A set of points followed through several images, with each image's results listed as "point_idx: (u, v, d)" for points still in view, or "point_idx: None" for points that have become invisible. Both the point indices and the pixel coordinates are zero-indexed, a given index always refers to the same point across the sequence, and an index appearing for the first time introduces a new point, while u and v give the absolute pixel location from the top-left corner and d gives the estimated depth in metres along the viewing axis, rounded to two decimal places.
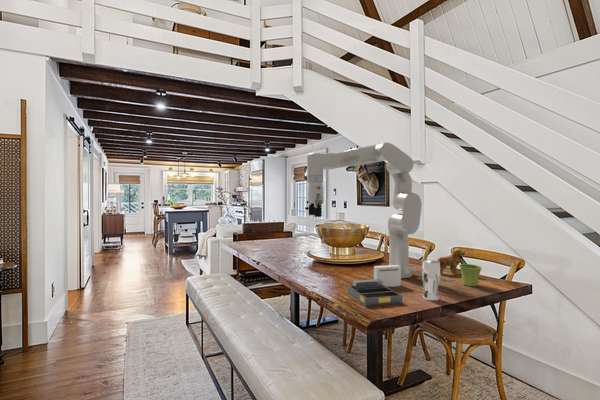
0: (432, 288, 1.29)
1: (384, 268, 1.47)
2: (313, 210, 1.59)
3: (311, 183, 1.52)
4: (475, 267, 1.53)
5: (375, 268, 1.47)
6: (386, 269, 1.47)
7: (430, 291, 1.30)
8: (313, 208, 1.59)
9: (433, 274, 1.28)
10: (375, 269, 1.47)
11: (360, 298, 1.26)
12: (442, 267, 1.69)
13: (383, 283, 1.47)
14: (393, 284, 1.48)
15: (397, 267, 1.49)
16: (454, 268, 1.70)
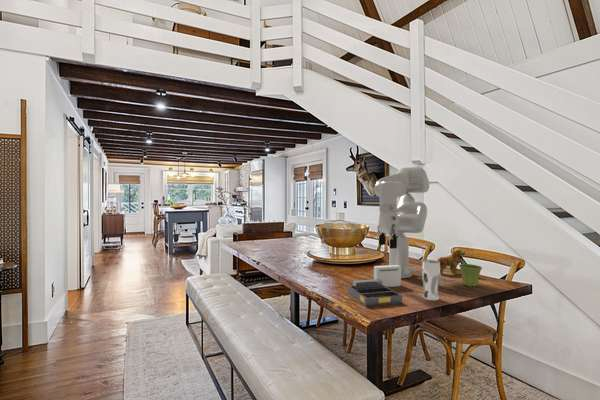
0: (432, 288, 1.29)
1: (384, 268, 1.47)
2: (383, 240, 1.53)
3: (385, 213, 1.46)
4: (475, 267, 1.53)
5: (375, 268, 1.47)
6: (386, 269, 1.47)
7: (430, 291, 1.30)
8: (383, 237, 1.53)
9: (433, 274, 1.28)
10: (375, 269, 1.47)
11: (360, 298, 1.26)
12: (442, 267, 1.69)
13: (383, 283, 1.47)
14: (393, 284, 1.48)
15: (397, 267, 1.49)
16: (454, 268, 1.70)
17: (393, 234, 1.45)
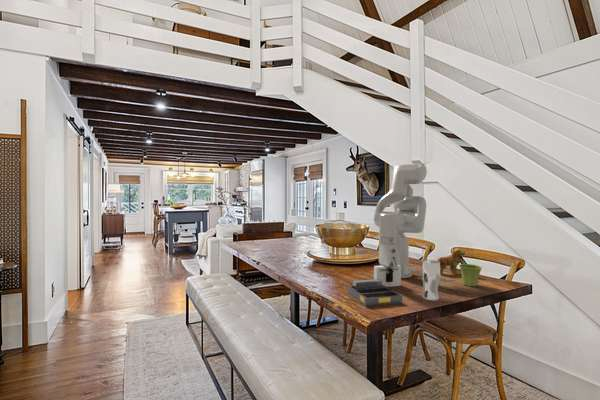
0: (432, 288, 1.29)
1: (384, 268, 1.47)
2: None
3: (385, 245, 1.46)
4: (475, 267, 1.53)
5: (375, 268, 1.47)
6: (386, 269, 1.47)
7: (430, 291, 1.30)
8: None
9: (433, 274, 1.28)
10: (375, 268, 1.47)
11: (360, 298, 1.26)
12: (442, 267, 1.69)
13: (383, 283, 1.47)
14: (393, 284, 1.48)
15: (397, 267, 1.49)
16: (454, 268, 1.70)
17: None
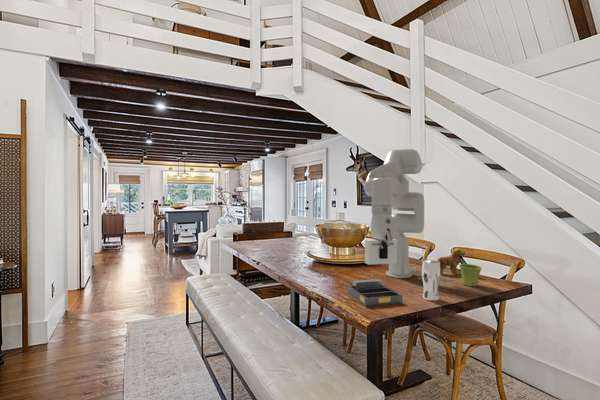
0: (432, 288, 1.29)
1: (377, 242, 1.24)
2: None
3: (378, 215, 1.24)
4: (475, 267, 1.53)
5: (366, 242, 1.25)
6: (379, 243, 1.25)
7: (430, 291, 1.30)
8: None
9: (433, 274, 1.28)
10: (367, 242, 1.25)
11: (360, 298, 1.26)
12: (442, 267, 1.69)
13: (376, 259, 1.24)
14: (388, 261, 1.26)
15: (393, 241, 1.26)
16: (454, 268, 1.70)
17: None
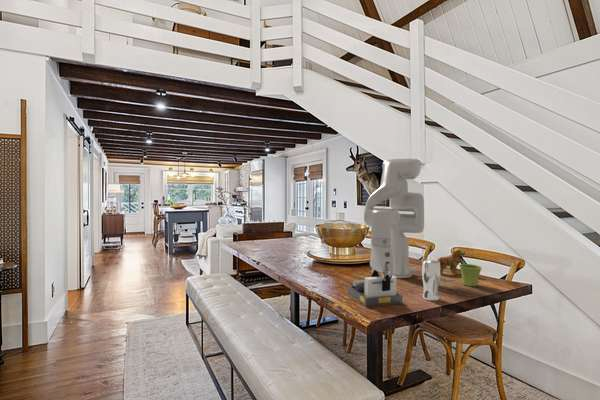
0: (432, 288, 1.29)
1: (377, 280, 1.25)
2: None
3: (377, 248, 1.24)
4: (475, 267, 1.53)
5: (366, 280, 1.25)
6: (379, 281, 1.25)
7: (430, 291, 1.30)
8: (377, 276, 1.30)
9: (433, 274, 1.28)
10: (366, 281, 1.25)
11: (360, 298, 1.26)
12: (442, 267, 1.69)
13: None
14: None
15: (392, 279, 1.26)
16: (454, 268, 1.70)
17: (386, 273, 1.23)
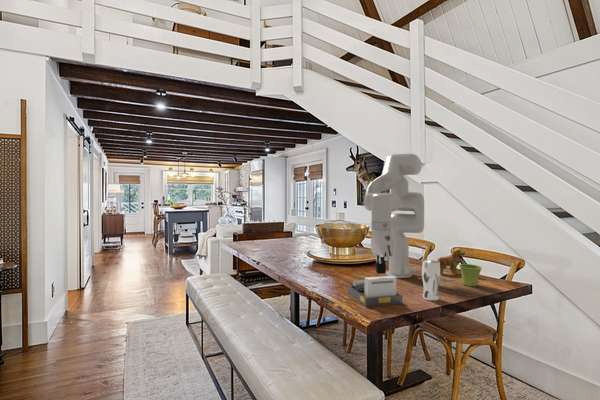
0: (432, 288, 1.29)
1: (377, 280, 1.25)
2: None
3: (378, 231, 1.24)
4: (475, 267, 1.53)
5: (366, 280, 1.25)
6: (379, 281, 1.25)
7: (430, 291, 1.30)
8: None
9: (433, 274, 1.28)
10: (366, 281, 1.25)
11: (360, 298, 1.26)
12: (442, 267, 1.69)
13: None
14: None
15: (392, 279, 1.26)
16: (454, 268, 1.70)
17: (383, 256, 1.26)
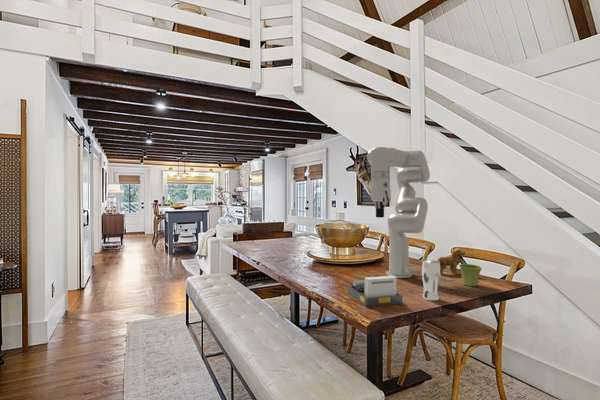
0: (432, 288, 1.29)
1: (377, 280, 1.25)
2: None
3: (377, 180, 1.42)
4: (475, 267, 1.53)
5: (366, 280, 1.25)
6: (379, 281, 1.25)
7: (430, 291, 1.30)
8: None
9: (433, 274, 1.28)
10: (366, 281, 1.25)
11: (360, 298, 1.26)
12: (442, 267, 1.69)
13: None
14: None
15: (392, 279, 1.26)
16: (454, 268, 1.70)
17: None
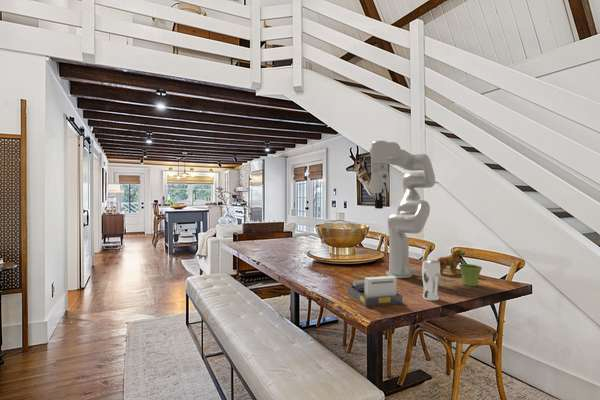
0: (432, 288, 1.29)
1: (377, 280, 1.25)
2: None
3: (376, 172, 1.47)
4: (475, 267, 1.53)
5: (366, 280, 1.25)
6: (379, 281, 1.25)
7: (430, 291, 1.30)
8: None
9: (433, 274, 1.28)
10: (366, 281, 1.25)
11: (360, 298, 1.26)
12: (442, 267, 1.69)
13: None
14: None
15: (392, 279, 1.26)
16: (454, 268, 1.70)
17: None
